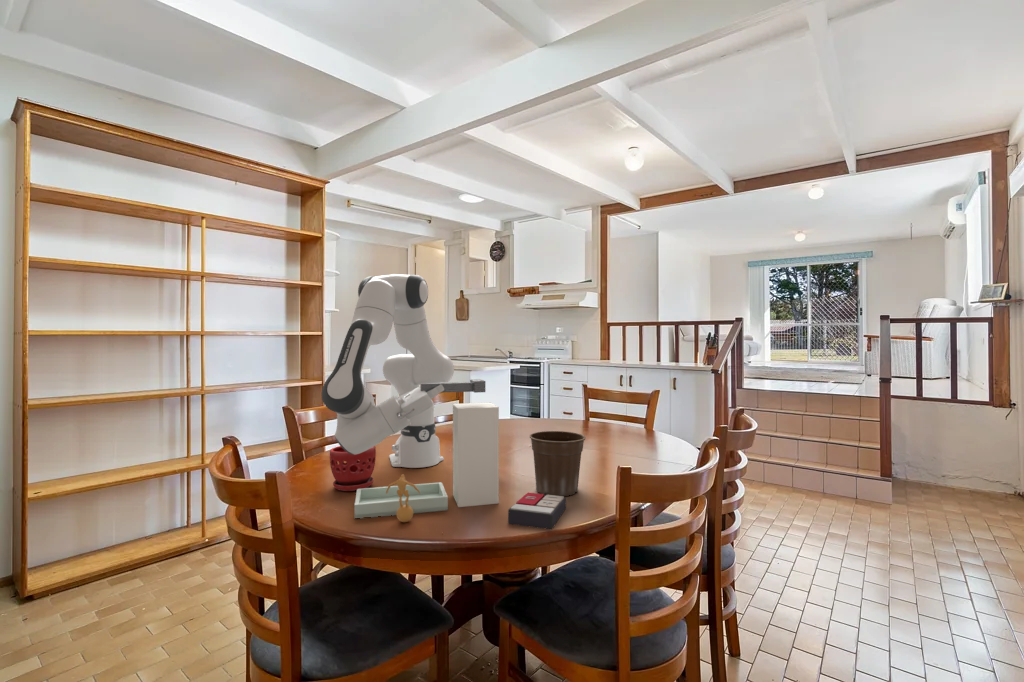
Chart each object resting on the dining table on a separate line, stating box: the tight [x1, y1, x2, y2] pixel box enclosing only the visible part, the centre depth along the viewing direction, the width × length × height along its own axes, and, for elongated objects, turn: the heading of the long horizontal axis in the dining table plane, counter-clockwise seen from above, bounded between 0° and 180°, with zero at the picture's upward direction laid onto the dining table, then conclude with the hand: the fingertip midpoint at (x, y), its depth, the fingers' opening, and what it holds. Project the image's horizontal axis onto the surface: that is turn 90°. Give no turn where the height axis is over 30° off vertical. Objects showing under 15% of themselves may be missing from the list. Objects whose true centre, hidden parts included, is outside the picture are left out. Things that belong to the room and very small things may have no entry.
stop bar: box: [419, 378, 486, 394], centre depth 131 cm, size 7×17×3 cm, turn 105°
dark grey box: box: [507, 492, 567, 530], centre depth 120 cm, size 11×4×15 cm
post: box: [452, 402, 500, 508], centre depth 132 cm, size 10×11×26 cm
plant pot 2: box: [529, 430, 586, 497], centre depth 140 cm, size 16×16×16 cm
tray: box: [354, 481, 449, 519], centre depth 127 cm, size 13×23×4 cm, turn 105°
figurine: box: [386, 474, 420, 523], centre depth 115 cm, size 8×6×12 cm
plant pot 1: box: [329, 445, 377, 492], centre depth 144 cm, size 13×13×12 cm
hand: (442, 385), depth 130 cm, fingers closed on stop bar, 2 cm apart
